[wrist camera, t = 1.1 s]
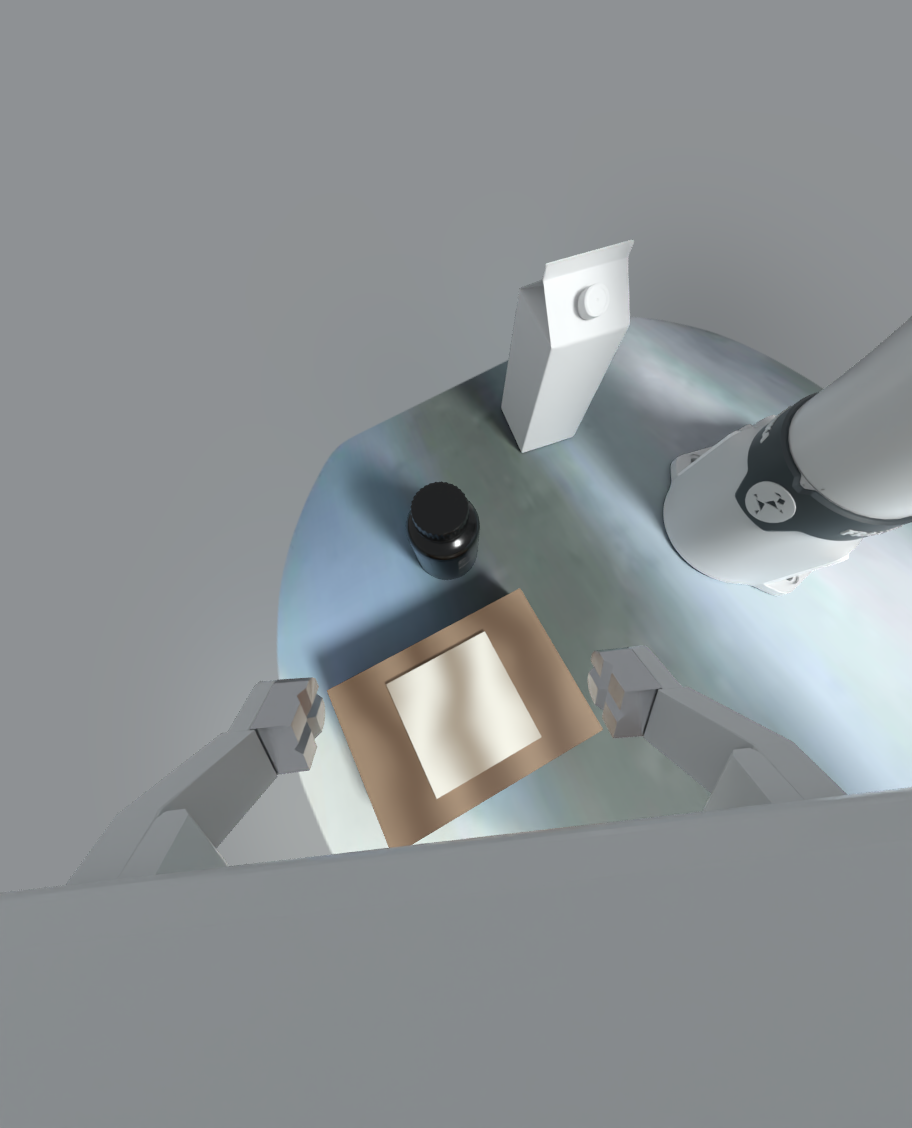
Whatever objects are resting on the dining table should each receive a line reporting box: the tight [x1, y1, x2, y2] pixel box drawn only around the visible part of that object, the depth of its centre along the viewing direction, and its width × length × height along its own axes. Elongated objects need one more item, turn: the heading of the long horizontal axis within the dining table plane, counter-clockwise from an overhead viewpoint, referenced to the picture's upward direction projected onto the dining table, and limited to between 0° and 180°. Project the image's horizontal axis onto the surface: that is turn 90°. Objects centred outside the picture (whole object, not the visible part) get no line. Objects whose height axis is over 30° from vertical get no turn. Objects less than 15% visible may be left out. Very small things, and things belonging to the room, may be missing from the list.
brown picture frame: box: [327, 588, 603, 848], centre depth 32 cm, size 20×14×5 cm
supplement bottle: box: [406, 482, 480, 580], centre depth 33 cm, size 7×7×12 cm
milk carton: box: [501, 240, 634, 453], centre depth 34 cm, size 7×7×19 cm
